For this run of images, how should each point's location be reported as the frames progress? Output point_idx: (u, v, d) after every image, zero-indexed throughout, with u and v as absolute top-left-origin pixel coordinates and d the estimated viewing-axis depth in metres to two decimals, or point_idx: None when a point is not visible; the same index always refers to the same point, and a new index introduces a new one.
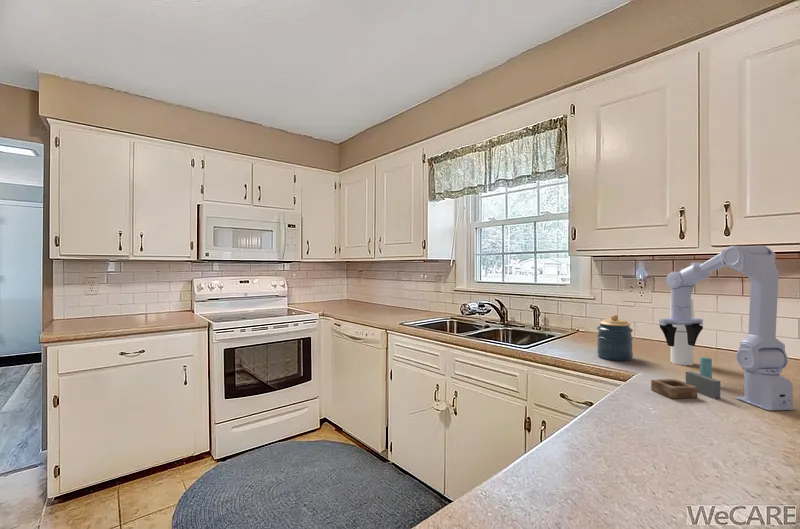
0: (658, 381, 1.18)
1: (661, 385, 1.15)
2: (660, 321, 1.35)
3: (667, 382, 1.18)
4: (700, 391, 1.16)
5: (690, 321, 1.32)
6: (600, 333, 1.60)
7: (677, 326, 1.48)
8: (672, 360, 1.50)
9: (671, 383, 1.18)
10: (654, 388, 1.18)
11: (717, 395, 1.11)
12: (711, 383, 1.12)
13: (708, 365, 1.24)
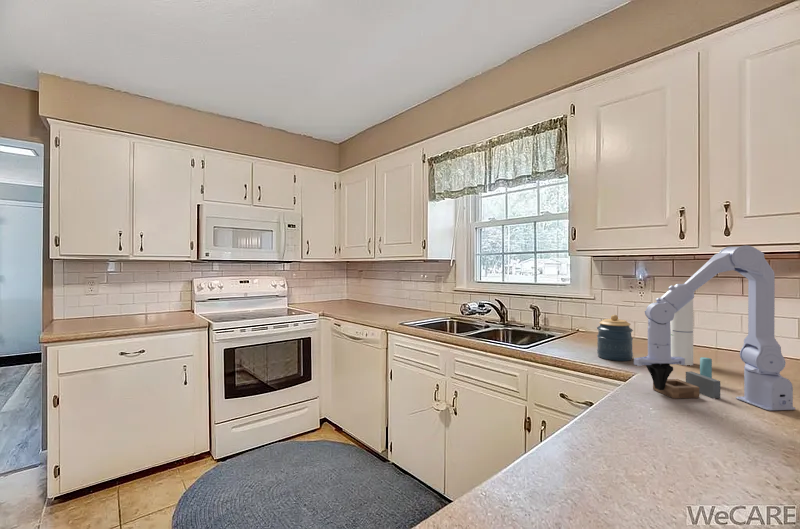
0: None
1: None
2: (635, 360, 1.15)
3: (669, 382, 1.18)
4: (700, 391, 1.16)
5: (669, 361, 1.13)
6: (600, 333, 1.60)
7: (677, 326, 1.48)
8: None
9: (673, 383, 1.18)
10: None
11: (717, 395, 1.11)
12: (711, 383, 1.12)
13: (708, 365, 1.24)
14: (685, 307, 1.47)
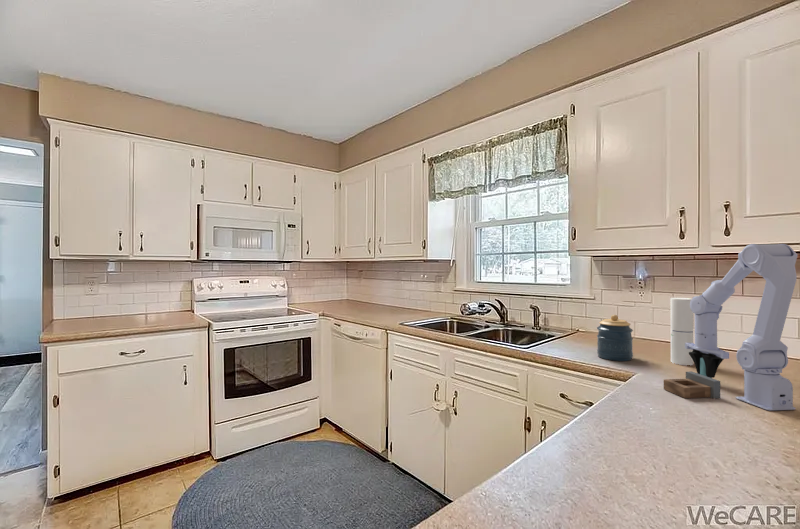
0: (671, 381, 1.18)
1: (674, 385, 1.15)
2: None
3: (679, 382, 1.18)
4: None
5: (700, 349, 1.24)
6: (600, 333, 1.60)
7: (677, 326, 1.48)
8: (672, 360, 1.50)
9: (683, 383, 1.18)
10: (667, 388, 1.18)
11: (717, 395, 1.11)
12: (711, 383, 1.12)
13: None
14: (685, 307, 1.47)
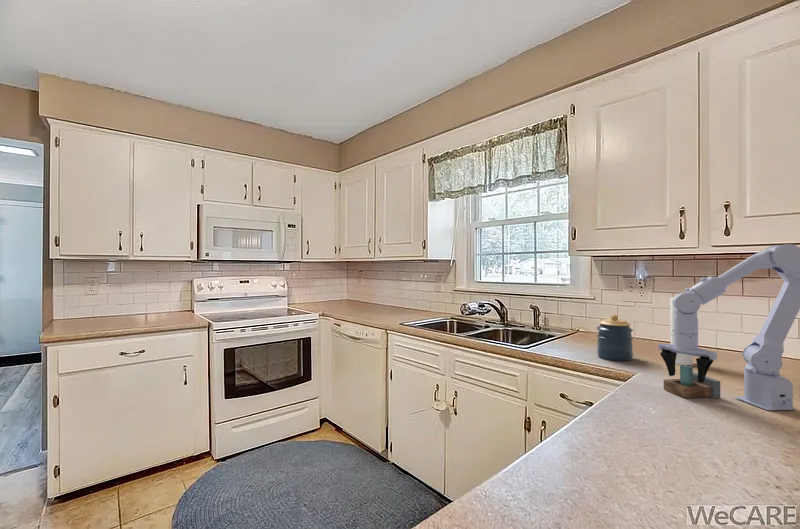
0: (671, 381, 1.18)
1: (674, 385, 1.15)
2: None
3: (679, 382, 1.18)
4: None
5: (685, 351, 1.14)
6: (600, 333, 1.60)
7: None
8: None
9: None
10: (667, 388, 1.18)
11: (717, 395, 1.11)
12: (711, 383, 1.12)
13: (691, 374, 1.15)
14: None
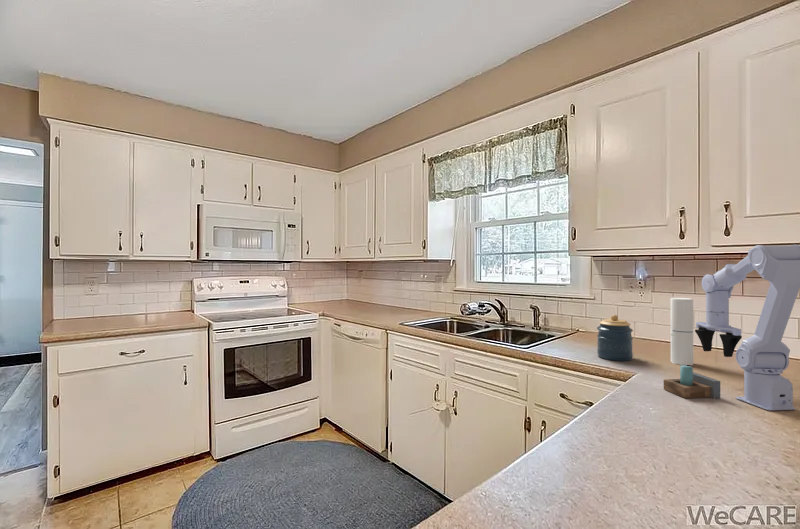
0: (671, 381, 1.18)
1: (674, 385, 1.15)
2: None
3: (679, 382, 1.18)
4: None
5: (711, 327, 1.24)
6: (600, 333, 1.60)
7: (677, 326, 1.48)
8: (672, 360, 1.50)
9: None
10: (667, 388, 1.18)
11: (717, 395, 1.11)
12: (711, 383, 1.12)
13: (691, 374, 1.15)
14: (685, 307, 1.47)
